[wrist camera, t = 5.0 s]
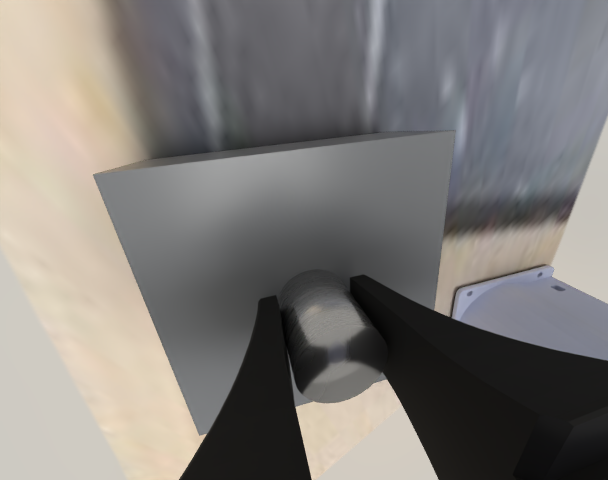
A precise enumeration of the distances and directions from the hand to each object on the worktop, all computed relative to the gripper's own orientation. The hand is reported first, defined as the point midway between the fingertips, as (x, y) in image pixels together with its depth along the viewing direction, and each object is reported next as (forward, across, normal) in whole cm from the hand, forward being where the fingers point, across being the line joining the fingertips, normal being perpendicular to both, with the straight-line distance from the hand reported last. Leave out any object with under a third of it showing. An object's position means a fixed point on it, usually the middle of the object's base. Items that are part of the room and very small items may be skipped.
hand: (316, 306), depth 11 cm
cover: (+6, 0, 0) cm, 6 cm away
